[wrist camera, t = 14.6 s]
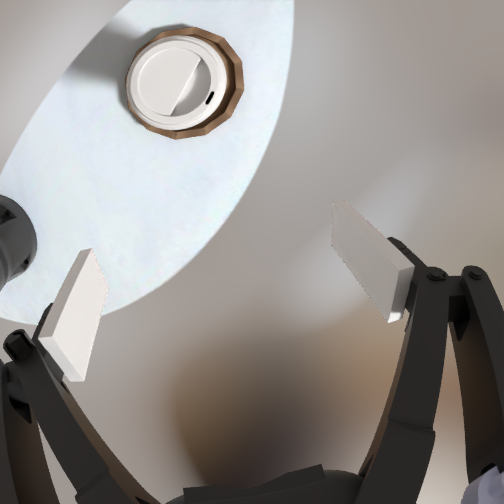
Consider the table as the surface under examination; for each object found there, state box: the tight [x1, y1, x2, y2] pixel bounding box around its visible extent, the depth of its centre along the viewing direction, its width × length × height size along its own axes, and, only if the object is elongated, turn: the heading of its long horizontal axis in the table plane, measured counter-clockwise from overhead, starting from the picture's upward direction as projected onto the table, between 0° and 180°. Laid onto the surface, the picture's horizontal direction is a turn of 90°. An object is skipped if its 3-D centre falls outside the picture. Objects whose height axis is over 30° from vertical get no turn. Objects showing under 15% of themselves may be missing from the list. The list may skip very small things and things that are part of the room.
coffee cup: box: [126, 36, 227, 130], centre depth 29 cm, size 10×10×15 cm
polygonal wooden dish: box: [125, 27, 244, 140], centre depth 36 cm, size 16×16×2 cm
